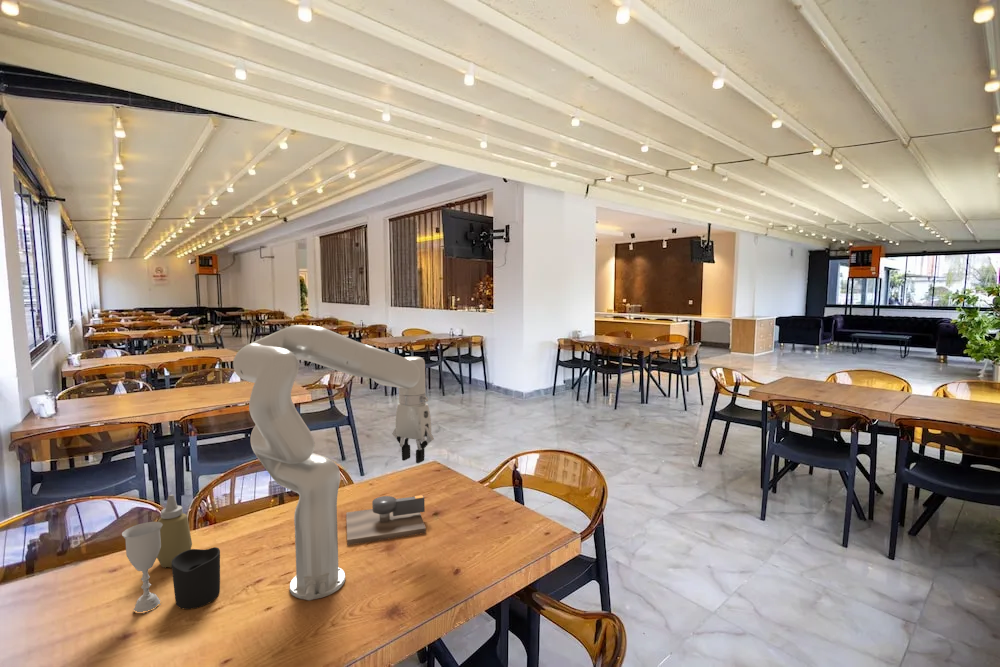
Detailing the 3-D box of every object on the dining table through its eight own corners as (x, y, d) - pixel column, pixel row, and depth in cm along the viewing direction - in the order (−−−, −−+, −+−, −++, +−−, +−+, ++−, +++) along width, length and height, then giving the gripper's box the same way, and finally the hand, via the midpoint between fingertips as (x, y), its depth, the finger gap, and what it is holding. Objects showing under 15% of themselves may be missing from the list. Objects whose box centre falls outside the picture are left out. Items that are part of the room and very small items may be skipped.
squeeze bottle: (198, 559, 128) (195, 493, 126) (164, 574, 121) (160, 504, 119) (183, 551, 132) (180, 486, 131) (149, 564, 125) (145, 497, 124)
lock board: (425, 533, 142) (425, 517, 142) (347, 545, 135) (346, 528, 135) (416, 507, 159) (416, 493, 159) (346, 517, 152) (346, 502, 152)
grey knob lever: (425, 515, 147) (425, 500, 147) (373, 522, 142) (373, 507, 142) (422, 505, 154) (422, 491, 154) (371, 512, 149) (371, 497, 149)
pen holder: (208, 581, 118) (206, 542, 117) (230, 593, 113) (228, 552, 112) (165, 602, 110) (163, 560, 109) (187, 616, 105) (184, 572, 104)
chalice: (161, 592, 113) (157, 518, 112) (171, 604, 109) (167, 527, 108) (122, 608, 108) (117, 530, 106) (131, 621, 103) (126, 540, 102)
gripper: (443, 399, 140) (444, 461, 142) (397, 394, 148) (398, 452, 149) (428, 404, 134) (429, 469, 135) (381, 399, 141) (382, 460, 143)
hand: (413, 459), depth 142 cm, fingers open, 4 cm apart
